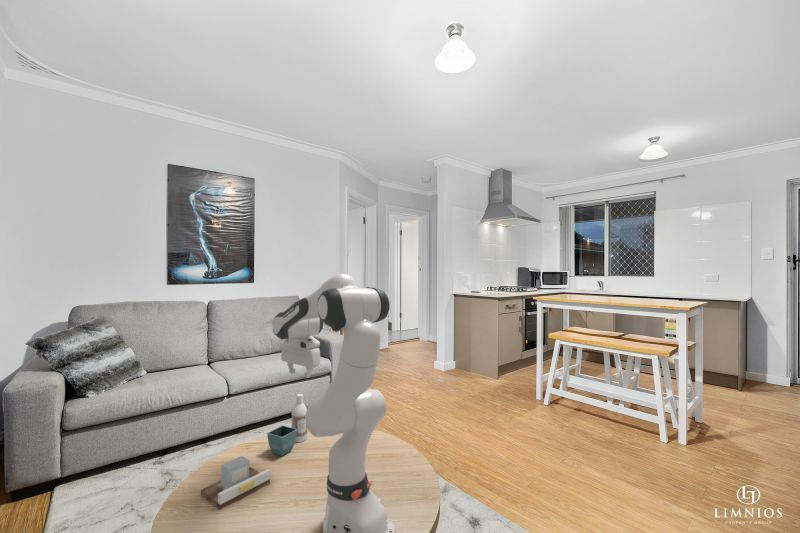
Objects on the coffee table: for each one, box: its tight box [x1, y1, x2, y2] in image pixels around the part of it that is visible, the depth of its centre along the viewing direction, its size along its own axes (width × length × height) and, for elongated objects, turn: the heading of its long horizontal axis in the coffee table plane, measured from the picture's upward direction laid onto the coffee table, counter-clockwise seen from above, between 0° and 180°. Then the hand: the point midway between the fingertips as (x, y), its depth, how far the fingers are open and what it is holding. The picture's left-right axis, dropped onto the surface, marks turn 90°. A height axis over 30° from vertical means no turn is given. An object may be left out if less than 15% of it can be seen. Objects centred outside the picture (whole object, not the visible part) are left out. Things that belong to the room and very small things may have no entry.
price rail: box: [218, 468, 271, 505], centre depth 122 cm, size 2×18×3 cm, turn 144°
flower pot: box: [266, 425, 297, 457], centre depth 151 cm, size 9×9×9 cm
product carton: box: [220, 455, 250, 489], centre depth 126 cm, size 5×8×7 cm
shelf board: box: [200, 466, 271, 510], centre depth 126 cm, size 13×18×2 cm
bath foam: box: [291, 393, 308, 443], centre depth 163 cm, size 7×7×20 cm
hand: (299, 375), depth 145 cm, fingers open, 8 cm apart
